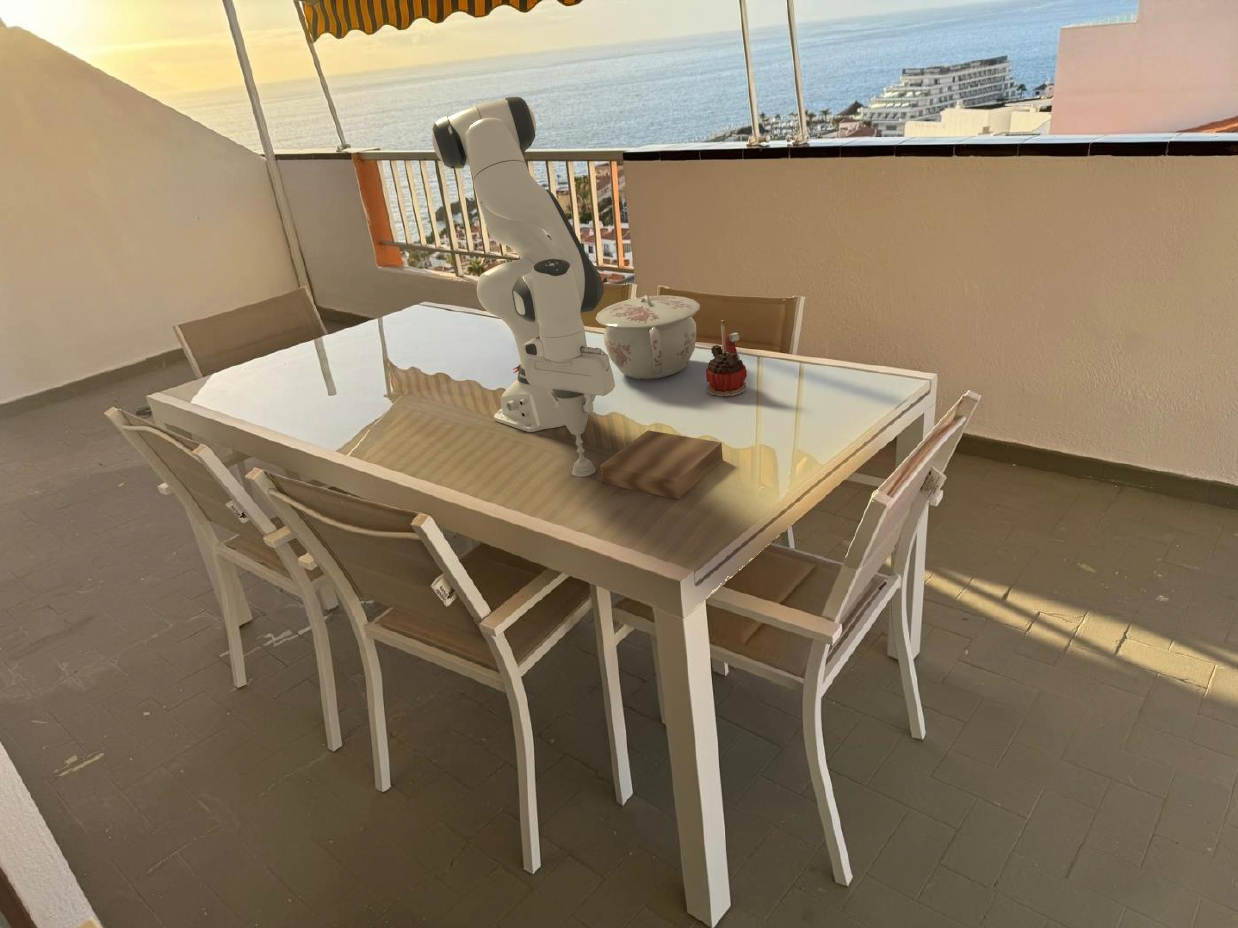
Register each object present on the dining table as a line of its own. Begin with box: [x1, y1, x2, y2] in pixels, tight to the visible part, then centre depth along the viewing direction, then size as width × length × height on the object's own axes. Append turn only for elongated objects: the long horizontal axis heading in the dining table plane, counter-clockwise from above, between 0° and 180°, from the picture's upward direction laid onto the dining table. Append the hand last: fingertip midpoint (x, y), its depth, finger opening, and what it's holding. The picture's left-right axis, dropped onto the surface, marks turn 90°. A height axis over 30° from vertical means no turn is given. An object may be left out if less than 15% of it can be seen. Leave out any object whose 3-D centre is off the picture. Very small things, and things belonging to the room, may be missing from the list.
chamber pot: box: [595, 294, 701, 380], centre depth 223 cm, size 28×28×21 cm
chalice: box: [555, 390, 596, 478], centre depth 174 cm, size 7×7×18 cm
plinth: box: [599, 429, 724, 500], centre depth 172 cm, size 18×18×4 cm
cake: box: [705, 319, 748, 397], centre depth 204 cm, size 11×9×18 cm
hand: (574, 409), depth 171 cm, fingers closed on chalice, 6 cm apart
